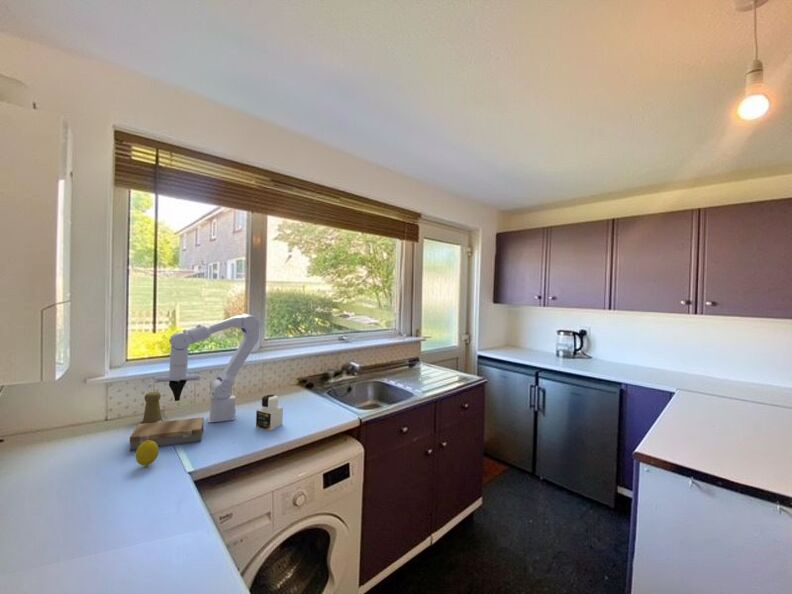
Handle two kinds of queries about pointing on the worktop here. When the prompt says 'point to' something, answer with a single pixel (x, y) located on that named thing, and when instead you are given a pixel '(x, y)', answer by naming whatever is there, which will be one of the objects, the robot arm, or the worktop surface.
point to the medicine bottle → (269, 413)
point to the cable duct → (171, 440)
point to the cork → (152, 408)
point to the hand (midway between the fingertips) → (177, 400)
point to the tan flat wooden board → (167, 429)
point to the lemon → (147, 452)
